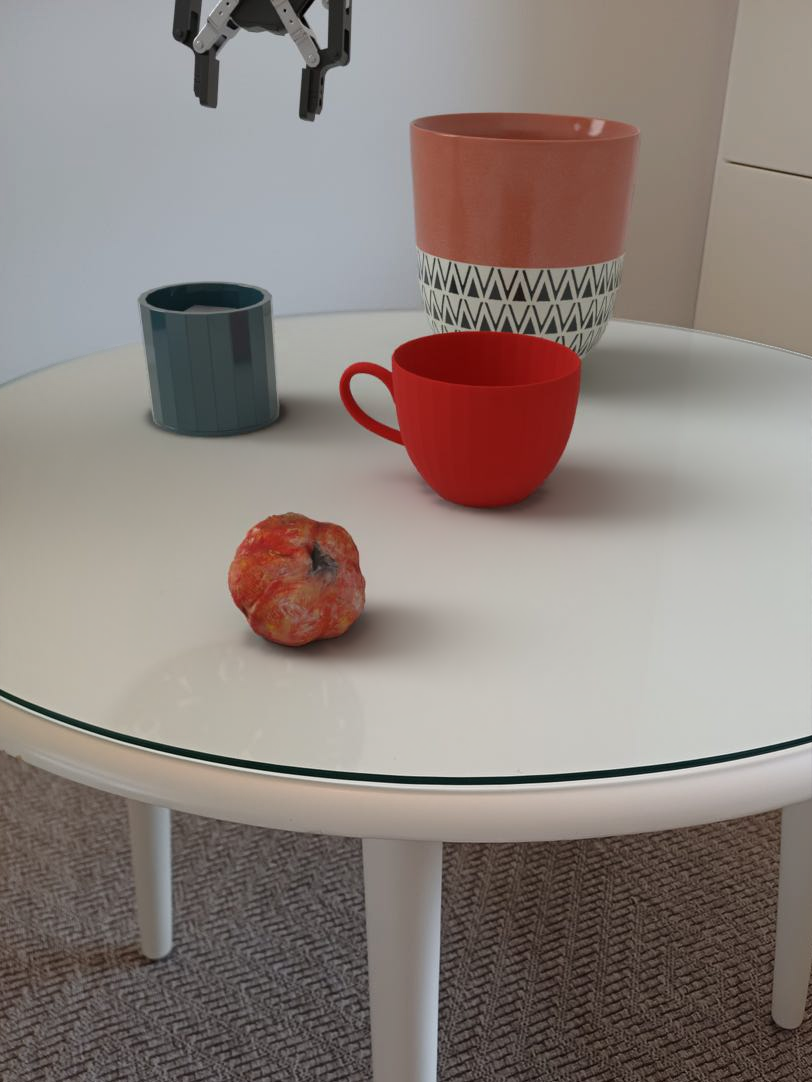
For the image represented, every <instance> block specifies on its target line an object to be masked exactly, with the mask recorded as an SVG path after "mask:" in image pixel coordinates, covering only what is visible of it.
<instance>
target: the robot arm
mask: <svg viewBox="0 0 812 1082" xmlns="http://www.w3.org/2000/svg"><path fill="white" fill-rule="evenodd" d="M315 1H316V0H219V2H218V3H217V4H216V5H215V7H214V8H213V10H212V11H211V12H210V14H208V16H207V19H206V23H205V25H204V26H203V27H202V29H200V28H201V27H200V26H201V15H202V7H203V0H175V1H174V9H173V10H174V11H173V22H172V37H173V39H174V41H176V42H178V43H180V44H182V45H184V46H185V47H187V48H189V49H190V50H191V51H192V52H193V55H194V67H193V68H194V71H193V93H194V96H195V98H198V101H199V104H200V106H202V107H204V108H207V109H217V107H218V99H219V81H220V79H219V78H220V62H221V61H220V60H219V59H216V58H217V57H218V55H219V54H220V52H221V51H222V50H223V48H225V46H226V45H227V44H228V42H229V41H230V40H232V39H234V38H235V37H236V36H237V34H238V33H239V32H240V31H241V29H243V30H245V31H247V32H248V33H257V34H260V33H263V32H268V33H271V34H273V35H275V36H280V37H285V36H286V35H287V34H288V35H289V36H290V39H291V40H292V41H293V42H294V43H295V45H296V47H297V49H298V51H299V53H300V54H301V56H302V58H303V60H304V62H305V67H301V79H300V93H299V104H298V105H299V106H298V108H299V109H298V118H299V119H300V120H302V121H304V122H311V123H314V122H315V120H316V115H318V116H320V115H321V113H322V111H323V107H324V95H325V94H324V93H325V84H326V83H325V81H326V75H327V73H328V71H329V70H331V69H334V68H339V67H343V68H344V67H347V66H348V65H349V64H350V62H351V49H352V48H351V47H352V45H351V44H352V16H353V15H352V14H353V0H321V4H322V6H323V8H324V9H325V10H327V11H328V16H327V18H328V19H327V47H325V48H322V47H321V45H320V43H319V42H318V39H317V36H316V34H315V32H314V31H313V28H312V26H311V24H310V23H309V21H308V19H307V17H306V16H305V14H306V13H307V12H308V11H309V9H310V8H311V7H312V5H313V4H314V3H315Z"/></svg>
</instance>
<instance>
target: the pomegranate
mask: <svg viewBox="0 0 812 1082" xmlns="http://www.w3.org/2000/svg"><path fill="white" fill-rule="evenodd" d="M227 575H228V576H227V586H228V590H229V592H230V596H231V599H232V601H233V603H234V605H235V606H236V608H237V609H238V610H239V611H240V612H241V613H242V614H243V615H244V617H245V618H246V621H247V623H248V624H249V626H250V628H251V630H252V631H253V632H254V634H256V635H257V636H260V637H261V638H263V639H265V640H266V641H267V640H268V641H271V642H274V643H276V644H279V645H283V646H287V647H288V646H289V647H301V646H302V645H305V644H308V643H310V642H314V641H318V640H328V639H332V638H338V637H340V636H342V635H343V634H345V633H346V632H347V631H348V630H349V629H350V627H352V624H354V623H355V622H356V621H357V620H358V618H359V617H360V615H361V614H362V613H363V612H364V609H365V604H366V579H365V576H364V575H363V573H362V569H361V566H360V551H359V549H358V546H357V545H356V543H355V541H354V539H353V537H352V535H351V534H350V533H349V532H348V531H347V530H346V529H345V528H344V527H343V526H342V525H339V524H336V523H333V522H329V521H319V520H315V519H312V518H310V517H308V516H306V515H305V514H302V513H298V512H297V513H296V512H293V511H288V512H286V513H283V514H278V515H276V514H272V515H268V516H267V517H266V518H265V519H263V520H260V521H259V522H258V523H256V524H255V525H254V526H252V527H251V528H249V530H248V531H247V532H246V535H245V538H244V539H243V540H242V541H241V542H240V543H239V545H238V547H237V548H235V553H234V556H233V560H232V561H231V563H230V565H229V568H228V572H227Z"/></svg>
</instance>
